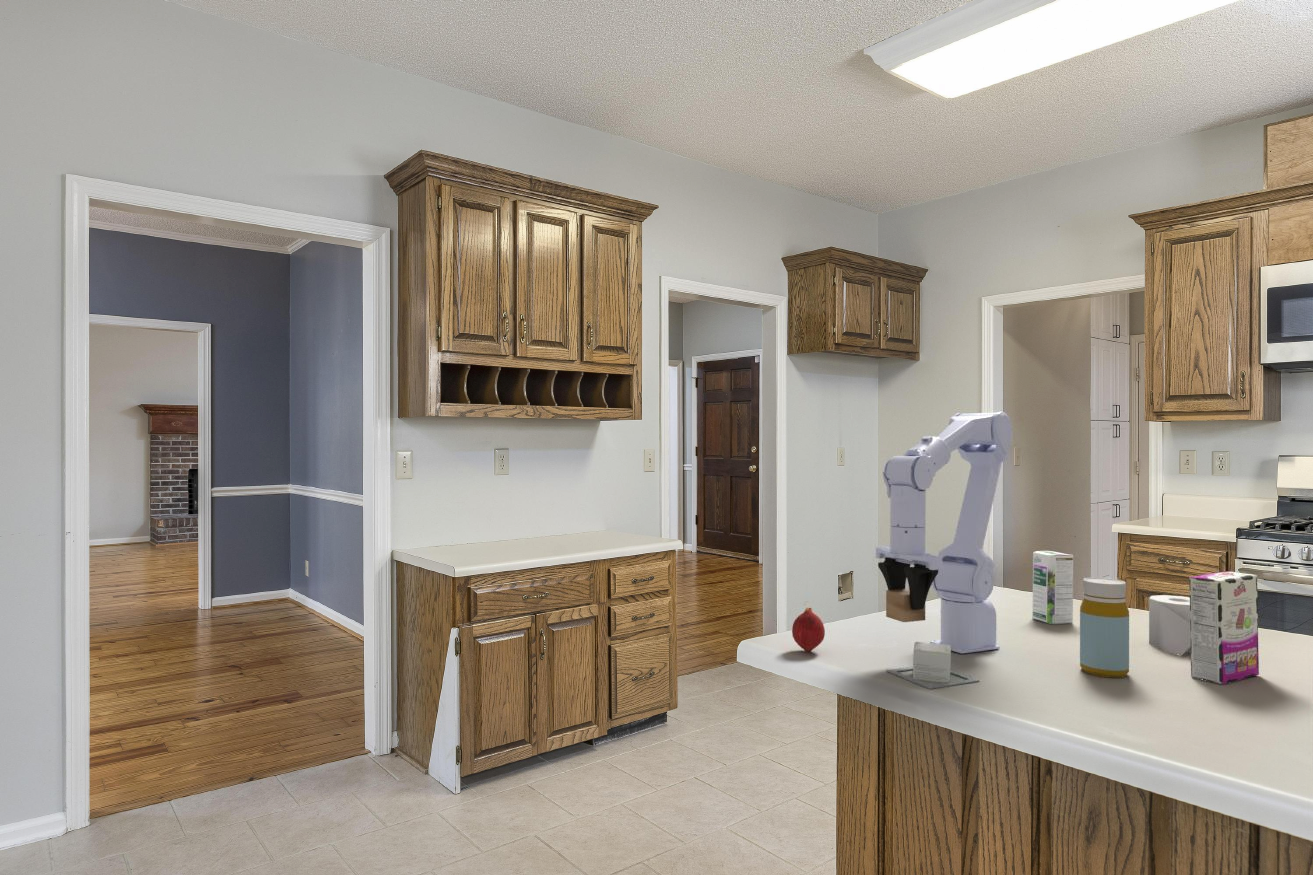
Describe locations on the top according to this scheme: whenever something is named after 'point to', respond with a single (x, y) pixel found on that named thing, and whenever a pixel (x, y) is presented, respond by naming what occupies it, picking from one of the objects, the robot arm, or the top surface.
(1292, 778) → the top surface
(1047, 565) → the syrup box
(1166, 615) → the toilet tissue
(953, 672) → the gray square frame
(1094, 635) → the bottle
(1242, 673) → the candy bar box
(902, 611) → the walnut cube
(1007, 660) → the top surface
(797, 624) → the onion
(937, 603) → the top surface
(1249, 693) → the top surface
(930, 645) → the small box
